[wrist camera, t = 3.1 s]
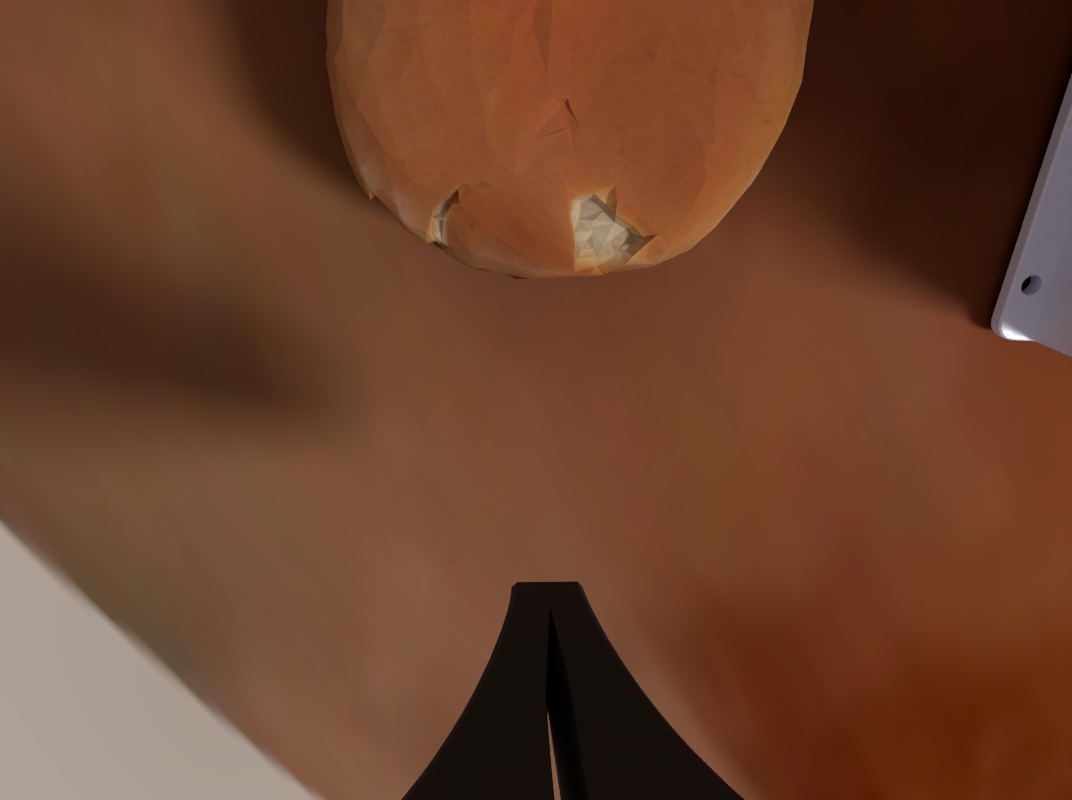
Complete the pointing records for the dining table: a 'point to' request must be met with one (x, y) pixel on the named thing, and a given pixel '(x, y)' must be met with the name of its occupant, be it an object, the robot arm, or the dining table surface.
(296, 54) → the dining table surface
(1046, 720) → the dining table surface
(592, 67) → the burger
